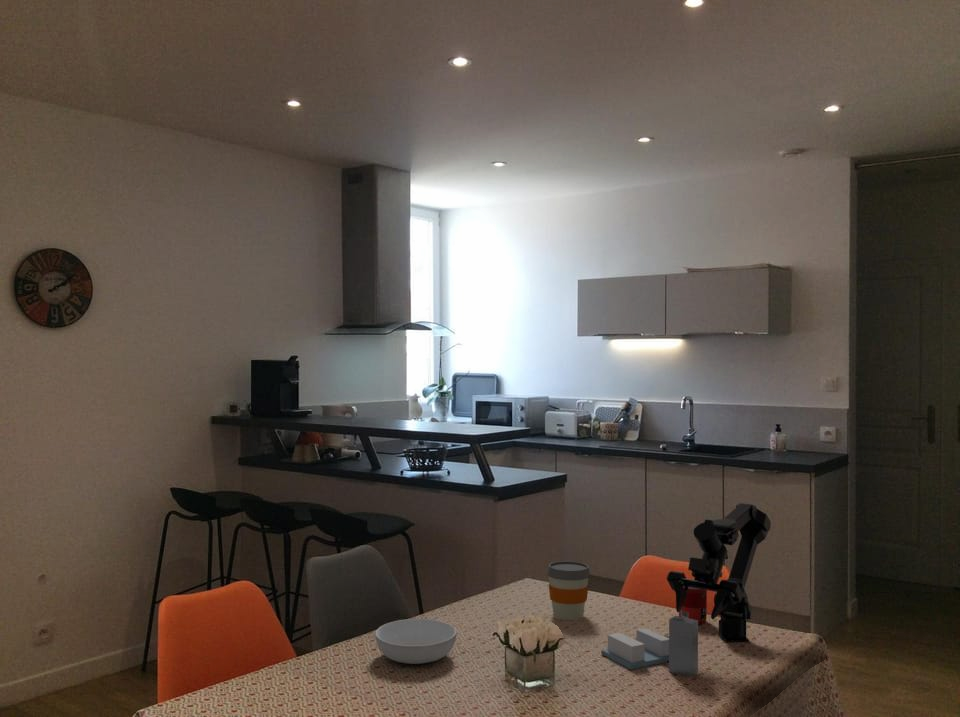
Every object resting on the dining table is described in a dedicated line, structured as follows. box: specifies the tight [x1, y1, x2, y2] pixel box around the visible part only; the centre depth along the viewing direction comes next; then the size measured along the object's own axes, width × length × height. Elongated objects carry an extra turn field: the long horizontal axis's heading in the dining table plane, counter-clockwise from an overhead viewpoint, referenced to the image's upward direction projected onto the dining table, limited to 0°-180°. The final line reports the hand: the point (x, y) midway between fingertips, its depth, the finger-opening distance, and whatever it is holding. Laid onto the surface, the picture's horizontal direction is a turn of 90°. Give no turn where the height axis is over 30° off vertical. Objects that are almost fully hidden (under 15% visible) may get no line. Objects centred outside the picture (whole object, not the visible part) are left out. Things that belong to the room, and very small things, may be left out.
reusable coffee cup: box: [547, 560, 591, 621], centre depth 248 cm, size 13×13×15 cm
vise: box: [601, 628, 669, 670], centre depth 214 cm, size 20×12×5 cm, turn 118°
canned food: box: [678, 587, 708, 625], centre depth 244 cm, size 8×8×11 cm
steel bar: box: [668, 615, 699, 678], centre depth 203 cm, size 4×6×13 cm, turn 52°
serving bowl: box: [374, 618, 458, 665], centre depth 212 cm, size 21×21×7 cm
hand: (694, 614), depth 208 cm, fingers open, 9 cm apart
